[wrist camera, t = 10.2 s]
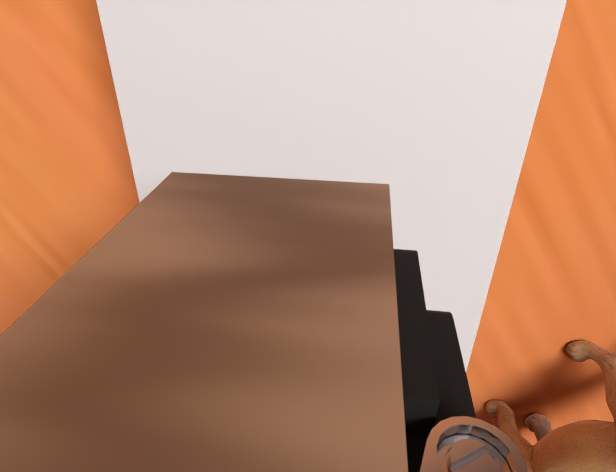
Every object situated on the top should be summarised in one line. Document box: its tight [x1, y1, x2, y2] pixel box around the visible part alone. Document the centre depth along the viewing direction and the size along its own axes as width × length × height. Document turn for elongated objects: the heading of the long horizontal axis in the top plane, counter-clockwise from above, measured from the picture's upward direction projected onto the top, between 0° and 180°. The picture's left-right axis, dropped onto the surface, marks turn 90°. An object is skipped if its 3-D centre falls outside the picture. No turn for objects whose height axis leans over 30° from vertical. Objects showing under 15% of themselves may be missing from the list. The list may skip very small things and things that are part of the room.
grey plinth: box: [96, 0, 567, 371], centre depth 18 cm, size 14×18×4 cm
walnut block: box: [0, 172, 408, 472], centre depth 8 cm, size 5×5×7 cm
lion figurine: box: [485, 340, 616, 472], centre depth 20 cm, size 15×5×9 cm, turn 155°
